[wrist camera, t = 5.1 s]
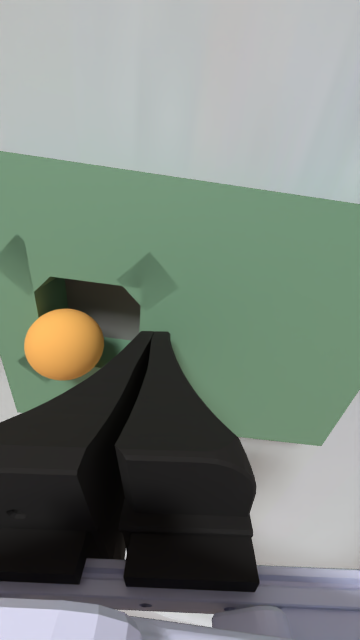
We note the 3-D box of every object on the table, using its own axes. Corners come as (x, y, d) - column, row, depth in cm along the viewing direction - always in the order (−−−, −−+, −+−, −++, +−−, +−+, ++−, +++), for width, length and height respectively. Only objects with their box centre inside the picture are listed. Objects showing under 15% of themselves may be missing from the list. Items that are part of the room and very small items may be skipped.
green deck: (403, 214, 12) (473, 221, 9) (300, 406, 18) (321, 446, 16) (2, 155, 11) (-64, 141, 8) (45, 376, 18) (17, 412, 15)
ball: (28, 304, 12) (98, 294, 13) (49, 361, 13) (111, 350, 14) (-4, 334, 9) (91, 319, 10) (27, 403, 10) (108, 387, 11)
